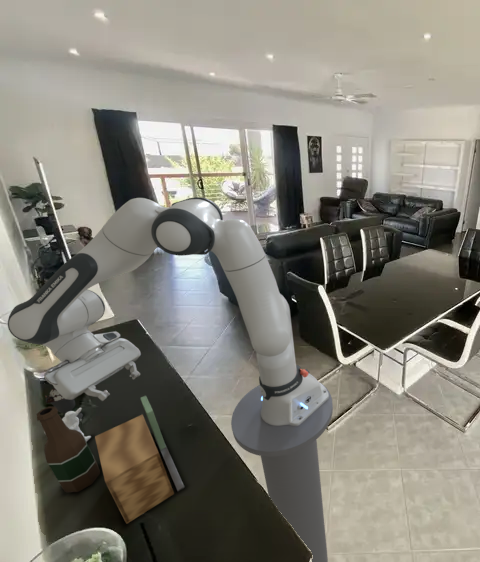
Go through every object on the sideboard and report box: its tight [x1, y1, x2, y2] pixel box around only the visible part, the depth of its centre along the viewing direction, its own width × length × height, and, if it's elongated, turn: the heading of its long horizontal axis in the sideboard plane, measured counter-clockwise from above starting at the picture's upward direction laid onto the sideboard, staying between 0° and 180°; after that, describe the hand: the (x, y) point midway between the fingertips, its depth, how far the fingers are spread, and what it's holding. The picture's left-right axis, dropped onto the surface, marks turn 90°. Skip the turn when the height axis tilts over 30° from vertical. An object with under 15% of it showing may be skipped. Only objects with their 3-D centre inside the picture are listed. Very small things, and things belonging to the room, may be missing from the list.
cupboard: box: [94, 414, 185, 525], centre depth 83 cm, size 12×24×15 cm, turn 45°
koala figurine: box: [43, 407, 92, 443], centre depth 91 cm, size 8×7×12 cm
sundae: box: [44, 386, 84, 421], centre depth 100 cm, size 7×7×15 cm
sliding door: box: [139, 395, 167, 451], centre depth 92 cm, size 2×8×14 cm, turn 45°
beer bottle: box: [36, 406, 101, 493], centre depth 80 cm, size 8×8×24 cm
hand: (123, 387), depth 88 cm, fingers open, 8 cm apart
